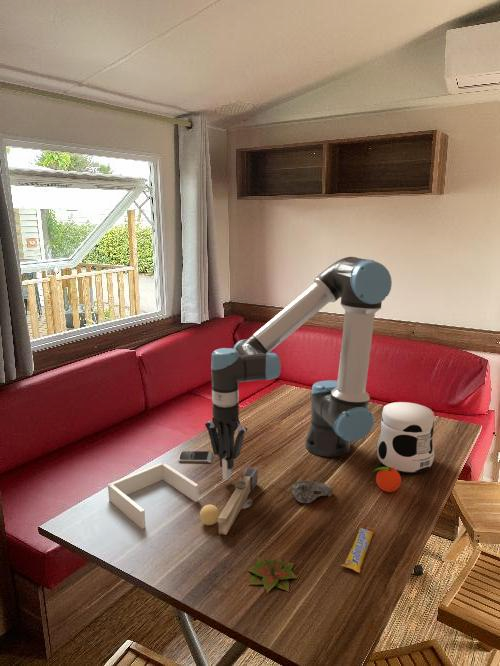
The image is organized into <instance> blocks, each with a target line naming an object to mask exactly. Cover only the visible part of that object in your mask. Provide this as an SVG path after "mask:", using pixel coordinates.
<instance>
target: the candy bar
mask: <svg viewBox="0 0 500 666" xmlns="http://www.w3.org/2000/svg"><path fill="white" fill-rule="evenodd" d="M358 526H359V527H358V529H359V530H358V533H357V535H356V538H355V540H354V542H353V545H352V547H351V548H350V551H349V552H348V553H349V554H348V555H347V557H346V559H345V561H344V563H343V564H341V566H340V567H343V568H347V569H350V570H352V571H354V572H356V573H361V568H362V565H363V562H364V560H365V557H366V554H367V551H368V548H369V546H370V543H371V540H372V537H373V535H374V534H375V530H374V529H373V528H371V527H369V526H366V528H365V526H364V525H358Z"/></svg>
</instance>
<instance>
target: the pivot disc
mask: <svg viewBox="0 0 500 666" xmlns="http://www.w3.org/2000/svg"><path fill="white" fill-rule="evenodd" d="M252 505H253V500H252V498H251V497H249V496H248V497H247V498H246V500H245V502H244V504H243V506H242V507H241V509H240V510H246V509H249V508H251V506H252Z"/></svg>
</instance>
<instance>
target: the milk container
mask: <svg viewBox="0 0 500 666" xmlns="http://www.w3.org/2000/svg"><path fill="white" fill-rule="evenodd" d="M380 422H381V423H380V434H379V437H378V441H377V443H376V455H377V458H378V460H379V462H380V463H381V464H382V465H384V467H392V468H394V469H395V470H397V471H398V473H402V474H418V473H422V472H425V471H427V470H429V469H430V468H431V466H432V465H433V463H434V459H435V447H434V442H433V441H434V439H433V437H434V432H435V431H434V428H435V414H434V411H432V409H430V408H429V407H427V406H425V405H422V404H419V403H415V402H414V403H413V402H408V401H407V402H406V401H397V402H396V401H395V402H391V403H387V404H386V405H384V406H383V408H382V413H381V421H380Z"/></svg>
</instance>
